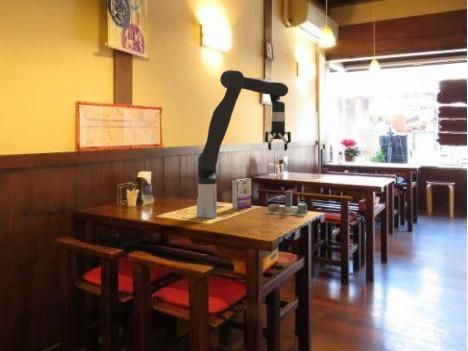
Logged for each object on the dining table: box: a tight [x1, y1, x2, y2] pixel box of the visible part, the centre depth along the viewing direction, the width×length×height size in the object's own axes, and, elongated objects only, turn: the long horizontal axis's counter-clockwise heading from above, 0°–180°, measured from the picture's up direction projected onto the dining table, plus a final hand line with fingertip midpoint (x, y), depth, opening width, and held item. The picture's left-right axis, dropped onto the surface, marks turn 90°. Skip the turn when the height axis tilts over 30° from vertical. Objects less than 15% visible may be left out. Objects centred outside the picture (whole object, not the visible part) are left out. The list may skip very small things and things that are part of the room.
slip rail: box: [266, 202, 309, 217], centre depth 215 cm, size 20×10×5 cm, turn 69°
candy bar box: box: [231, 177, 253, 210], centre depth 230 cm, size 11×5×16 cm, turn 131°
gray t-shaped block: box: [279, 190, 298, 212], centre depth 214 cm, size 13×3×11 cm, turn 69°
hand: (277, 150), depth 222 cm, fingers open, 8 cm apart
